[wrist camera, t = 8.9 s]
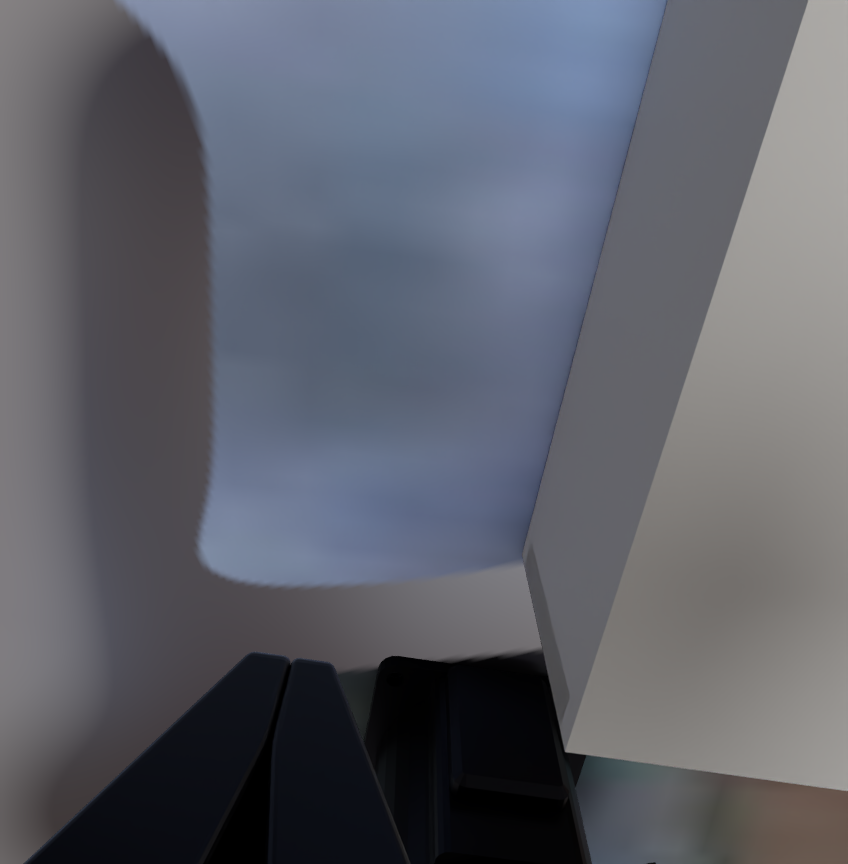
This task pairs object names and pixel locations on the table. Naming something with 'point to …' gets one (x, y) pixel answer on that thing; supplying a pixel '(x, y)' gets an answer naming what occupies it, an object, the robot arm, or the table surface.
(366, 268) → the table surface
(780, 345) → the cabinet
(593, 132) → the table surface
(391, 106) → the table surface
